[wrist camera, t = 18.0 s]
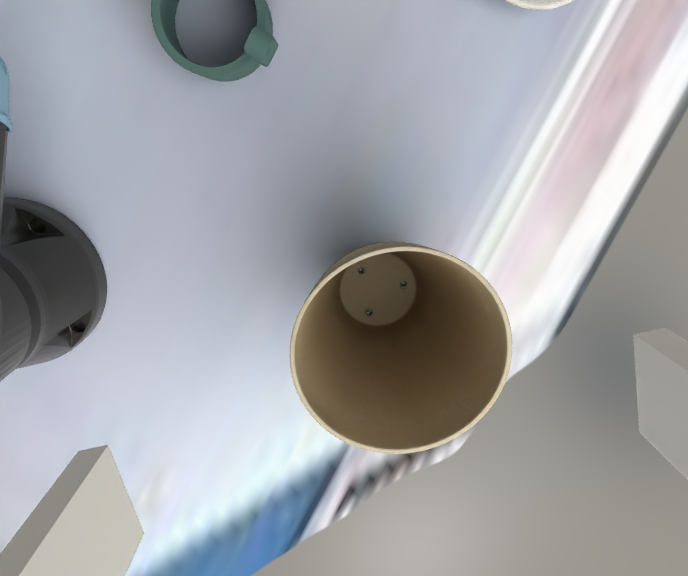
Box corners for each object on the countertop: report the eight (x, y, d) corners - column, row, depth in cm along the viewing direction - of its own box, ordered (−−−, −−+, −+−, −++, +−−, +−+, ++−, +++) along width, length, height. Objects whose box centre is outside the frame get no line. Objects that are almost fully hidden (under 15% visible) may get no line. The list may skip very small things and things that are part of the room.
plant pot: (445, 363, 53) (492, 459, 38) (296, 353, 52) (283, 447, 37) (468, 215, 49) (532, 256, 34) (306, 201, 48) (296, 238, 33)
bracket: (286, 72, 45) (277, 58, 36) (179, 89, 45) (144, 80, 36) (265, -49, 42) (250, -94, 34) (151, -29, 42) (107, -70, 34)
